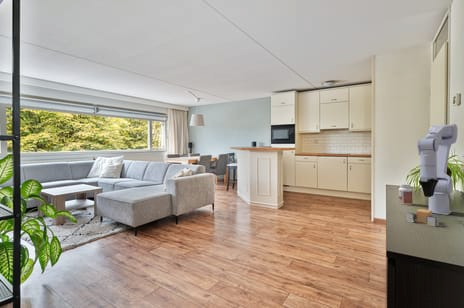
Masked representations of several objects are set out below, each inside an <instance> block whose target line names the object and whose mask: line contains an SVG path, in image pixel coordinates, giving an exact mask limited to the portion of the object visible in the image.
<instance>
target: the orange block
mask: <svg viewBox="0 0 464 308" xmlns="http://www.w3.org/2000/svg"><path fill="white" fill-rule="evenodd" d="M415 213H416V221H415V222H418V223H424V224H427V216H430V215H432V216H433V213H432V210H428V209H424V208H418V209H417V210H416V211H415Z"/></svg>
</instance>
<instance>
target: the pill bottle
mask: <svg viewBox="0 0 464 308" xmlns="http://www.w3.org/2000/svg"><path fill="white" fill-rule="evenodd" d="M398 203H399V204H400V205H403V206H412V205H413V189H412V188H411V184H410V183H400V184H399V188H398Z"/></svg>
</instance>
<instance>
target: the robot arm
mask: <svg viewBox="0 0 464 308" xmlns="http://www.w3.org/2000/svg"><path fill="white" fill-rule="evenodd" d="M458 133H459V132H458V125H457V124H455V123H452V124H440V125H431V126H430V127H429V132H428V133H427V134H426V136H424V138H421V139H418V140H417V150H418V155H419V168H420V169H419V171H420V173H419V174H417V175H416V177H418V178H420V179H419V180H418V183H419V185H420V187H421V188H422V192H423V196H424V197H426V198H428V209H427V210H432V214H439V215H445V216H448V215H449V214H451V213H452V212H453V210H450V197H449V195H451V194H452V193H453V191H454V180H453V179H452V177H451V176H450V175H448V174H447V170H448V164H449V157H450V151H451V147H452V145H453V144H456V142H457V139H458Z"/></svg>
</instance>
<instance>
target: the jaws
mask: <svg viewBox="0 0 464 308" xmlns="http://www.w3.org/2000/svg"><path fill="white" fill-rule="evenodd" d="M413 213H414V214H416V212H411V211H409V212H407V213H405V215H404V221H405V222H407V223H414V222H417V221H416V220H414V216H413ZM430 216H431V217H427V223H426V224H427V225H426V226H431V227H436V226H437V227H439V226H440V219H439V218H438V217H439V216H437V215H433V214H432V215H430Z"/></svg>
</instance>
